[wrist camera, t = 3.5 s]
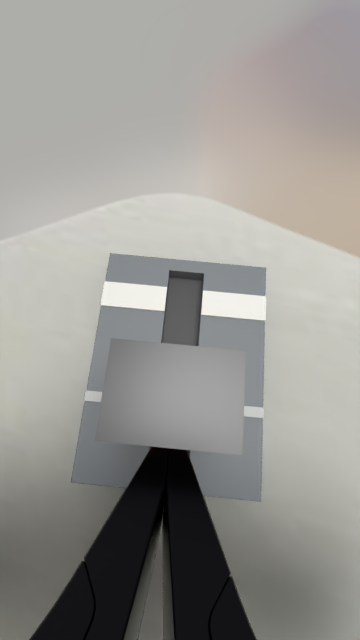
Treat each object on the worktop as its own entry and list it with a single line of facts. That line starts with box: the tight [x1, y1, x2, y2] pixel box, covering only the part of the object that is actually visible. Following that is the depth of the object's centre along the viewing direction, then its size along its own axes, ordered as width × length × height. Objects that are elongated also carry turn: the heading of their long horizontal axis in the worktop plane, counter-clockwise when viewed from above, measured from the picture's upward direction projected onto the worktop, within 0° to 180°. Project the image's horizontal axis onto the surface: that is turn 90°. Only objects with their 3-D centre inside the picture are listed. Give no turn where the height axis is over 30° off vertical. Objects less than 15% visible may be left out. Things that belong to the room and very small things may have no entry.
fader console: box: [71, 253, 266, 501], centre depth 17 cm, size 12×9×1 cm
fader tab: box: [95, 338, 246, 456], centre depth 12 cm, size 2×4×9 cm
